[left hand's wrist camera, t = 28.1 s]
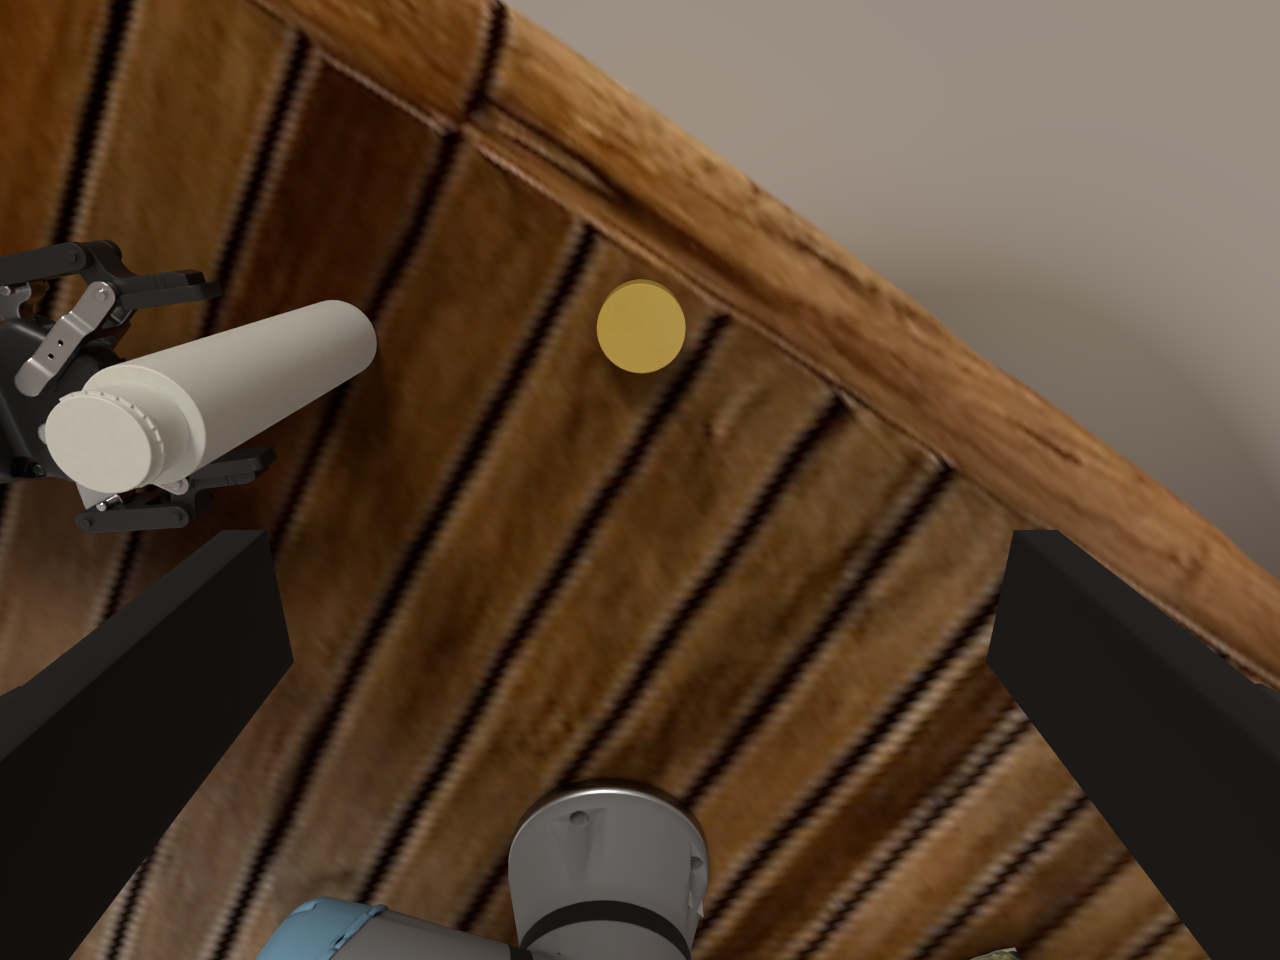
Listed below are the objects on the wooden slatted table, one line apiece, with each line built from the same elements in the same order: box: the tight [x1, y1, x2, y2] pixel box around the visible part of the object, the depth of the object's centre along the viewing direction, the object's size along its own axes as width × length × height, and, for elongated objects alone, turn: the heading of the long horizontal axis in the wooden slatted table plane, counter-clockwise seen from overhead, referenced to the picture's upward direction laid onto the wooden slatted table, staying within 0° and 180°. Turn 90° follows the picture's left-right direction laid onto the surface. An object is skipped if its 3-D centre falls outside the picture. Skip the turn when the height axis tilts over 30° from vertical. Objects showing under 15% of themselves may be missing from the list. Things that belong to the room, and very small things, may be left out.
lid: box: [597, 279, 686, 373], centre depth 40 cm, size 5×5×2 cm
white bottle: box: [45, 300, 377, 493], centre depth 32 cm, size 4×4×20 cm
